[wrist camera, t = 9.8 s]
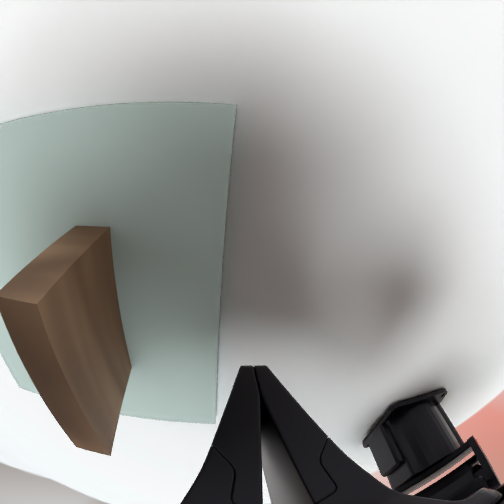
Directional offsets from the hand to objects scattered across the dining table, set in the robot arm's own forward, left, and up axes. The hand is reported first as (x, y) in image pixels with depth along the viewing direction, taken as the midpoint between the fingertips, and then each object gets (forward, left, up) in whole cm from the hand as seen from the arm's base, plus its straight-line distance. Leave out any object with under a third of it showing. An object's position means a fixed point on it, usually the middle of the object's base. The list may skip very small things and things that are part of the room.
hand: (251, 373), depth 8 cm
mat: (+8, 0, -4) cm, 9 cm away
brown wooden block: (+6, 0, -3) cm, 7 cm away
